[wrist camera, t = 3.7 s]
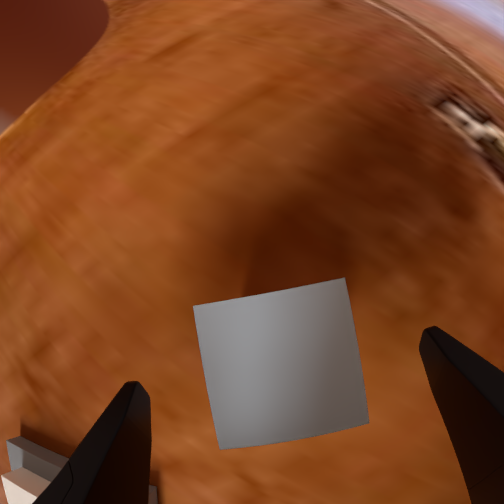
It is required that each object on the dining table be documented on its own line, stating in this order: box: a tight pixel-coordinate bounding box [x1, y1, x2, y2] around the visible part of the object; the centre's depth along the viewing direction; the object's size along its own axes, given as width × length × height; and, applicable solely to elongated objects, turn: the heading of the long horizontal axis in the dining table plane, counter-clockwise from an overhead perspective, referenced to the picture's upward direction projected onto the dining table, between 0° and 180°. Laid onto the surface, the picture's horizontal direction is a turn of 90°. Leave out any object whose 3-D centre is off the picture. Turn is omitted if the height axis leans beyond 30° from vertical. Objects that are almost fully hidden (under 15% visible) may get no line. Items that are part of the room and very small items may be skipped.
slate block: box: [193, 278, 369, 450], centre depth 12 cm, size 4×4×9 cm
